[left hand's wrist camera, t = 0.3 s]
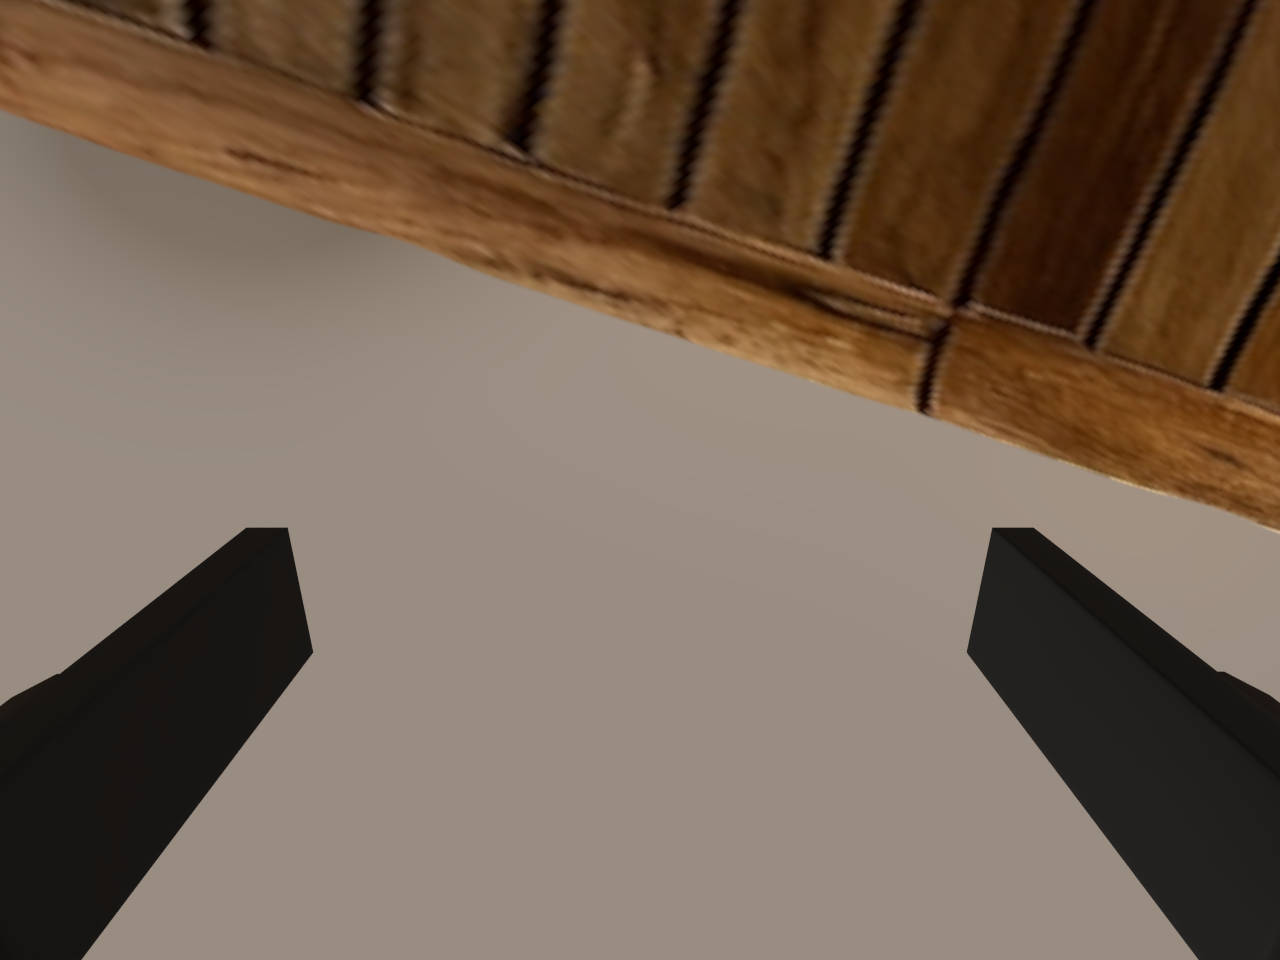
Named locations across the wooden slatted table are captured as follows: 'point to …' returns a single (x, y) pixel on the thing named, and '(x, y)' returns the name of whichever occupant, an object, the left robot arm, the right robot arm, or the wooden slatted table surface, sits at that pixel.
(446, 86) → the wooden slatted table surface
